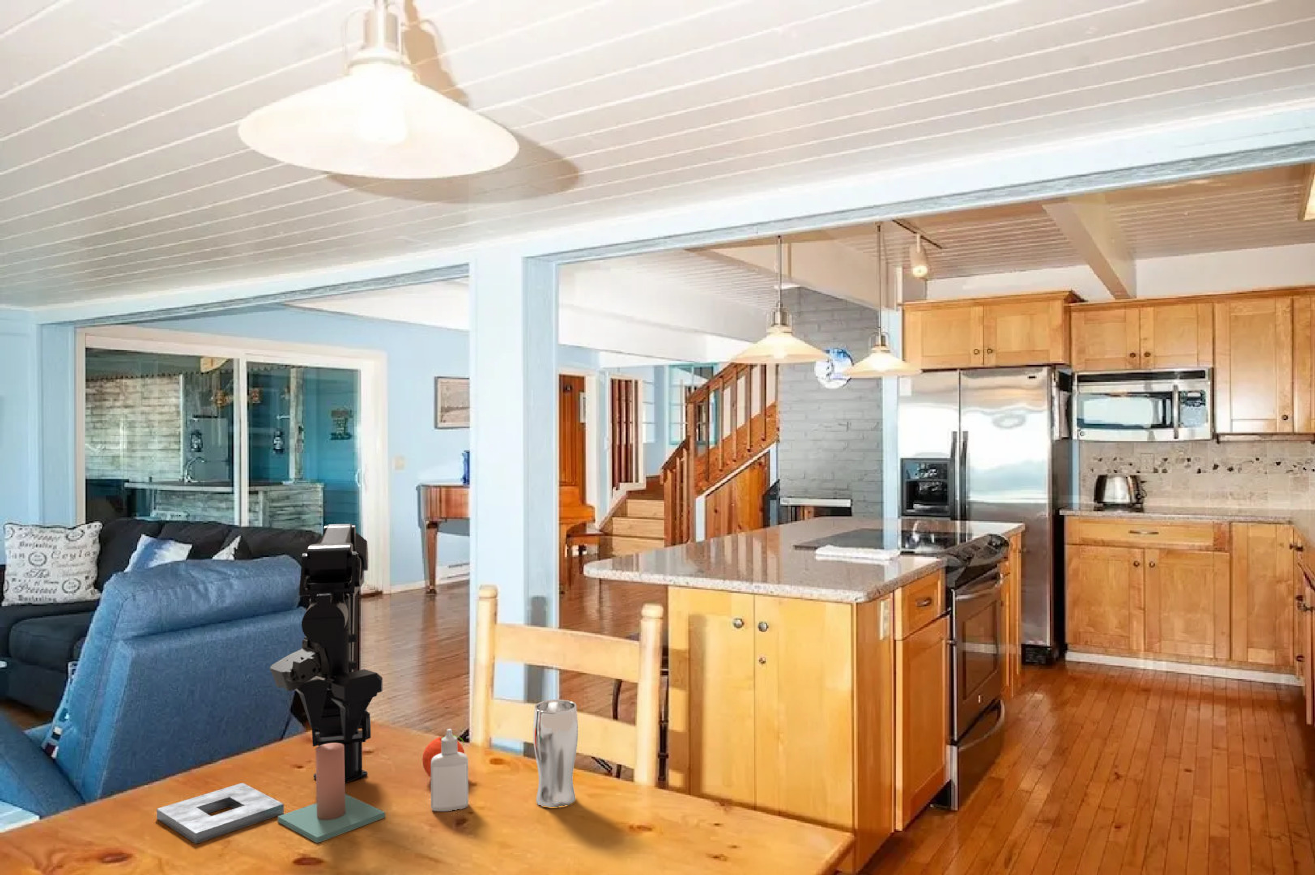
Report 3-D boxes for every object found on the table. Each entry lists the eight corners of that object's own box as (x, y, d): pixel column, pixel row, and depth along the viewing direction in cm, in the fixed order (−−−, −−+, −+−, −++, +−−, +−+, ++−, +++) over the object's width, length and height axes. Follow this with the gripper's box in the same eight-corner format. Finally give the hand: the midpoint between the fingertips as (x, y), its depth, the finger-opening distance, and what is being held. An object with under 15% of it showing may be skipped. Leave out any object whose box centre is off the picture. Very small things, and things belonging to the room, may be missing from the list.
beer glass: (525, 806, 142) (524, 709, 141) (547, 789, 148) (546, 697, 148) (565, 813, 139) (564, 714, 139) (585, 796, 145) (585, 702, 145)
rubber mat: (344, 798, 145) (344, 793, 145) (384, 817, 138) (384, 812, 138) (277, 821, 136) (277, 816, 136) (317, 843, 129) (317, 837, 129)
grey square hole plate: (242, 792, 147) (242, 782, 147) (283, 813, 139) (283, 804, 139) (156, 819, 137) (156, 809, 137) (195, 844, 129) (195, 833, 129)
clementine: (450, 766, 158) (450, 725, 158) (478, 775, 154) (478, 733, 154) (413, 781, 152) (413, 738, 152) (441, 790, 148) (441, 746, 148)
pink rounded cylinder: (335, 806, 140) (334, 741, 140) (350, 813, 137) (349, 746, 137) (311, 815, 137) (310, 748, 136) (326, 822, 134) (325, 754, 134)
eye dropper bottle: (459, 815, 138) (459, 736, 138) (426, 811, 140) (425, 732, 140) (472, 803, 143) (472, 726, 143) (440, 799, 144) (439, 723, 144)
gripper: (246, 629, 136) (247, 734, 136) (313, 648, 124) (314, 763, 125) (316, 617, 145) (316, 716, 145) (384, 634, 133) (385, 741, 133)
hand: (330, 733), depth 137 cm, fingers open, 9 cm apart
